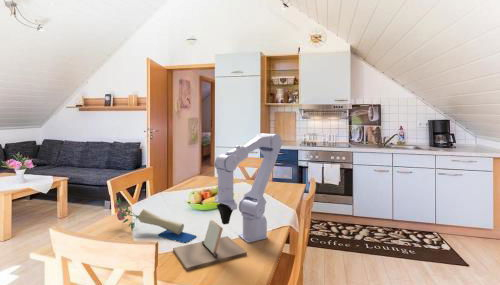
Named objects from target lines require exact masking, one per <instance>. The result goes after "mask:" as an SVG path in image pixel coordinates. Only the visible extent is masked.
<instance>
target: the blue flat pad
mask: <svg viewBox="0 0 500 285" xmlns="http://www.w3.org/2000/svg"><path fill="white" fill-rule="evenodd" d="M158 237H160V238H162V237H163V239H166V238H167V240H170V239H171V240H170V241H174V240H176V241H175V242H178V241H180V242H179V243H182V242H184V243H183V244H187V243H186V242H188V243H189V242H191V241H193V240H194V238H195V239H196V238H197V235H195V234H191V233H188V232H185V231H184V232H183V231H182V233H180V234H179V235H177V234H175V233H173V232H170V231H168V230H166V229H165V230H164V231H161V232H160V233H158ZM192 239H193V240H192ZM190 240H191V241H190Z"/></svg>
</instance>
